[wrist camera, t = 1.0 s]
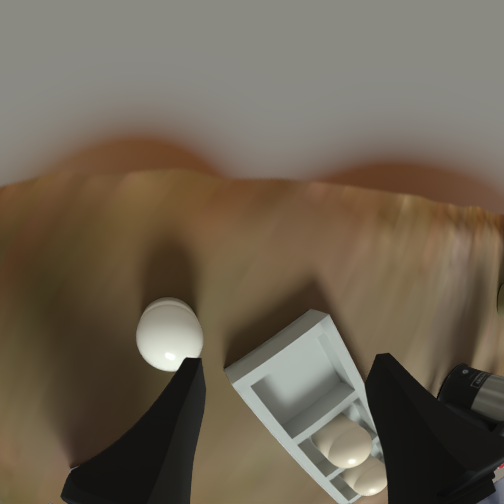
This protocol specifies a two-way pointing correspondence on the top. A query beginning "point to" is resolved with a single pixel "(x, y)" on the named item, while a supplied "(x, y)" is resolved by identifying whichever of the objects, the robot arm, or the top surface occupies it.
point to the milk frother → (475, 397)
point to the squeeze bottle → (501, 301)
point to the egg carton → (315, 405)
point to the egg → (168, 333)
